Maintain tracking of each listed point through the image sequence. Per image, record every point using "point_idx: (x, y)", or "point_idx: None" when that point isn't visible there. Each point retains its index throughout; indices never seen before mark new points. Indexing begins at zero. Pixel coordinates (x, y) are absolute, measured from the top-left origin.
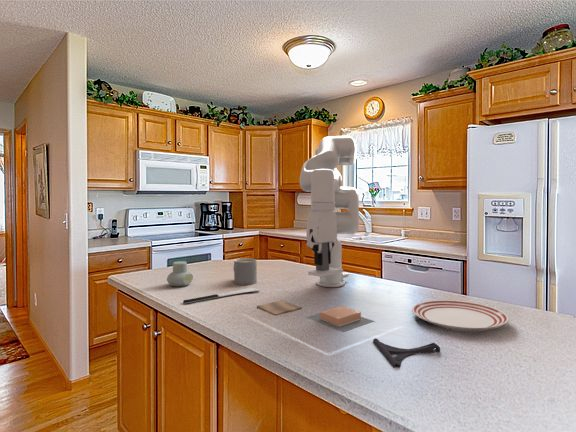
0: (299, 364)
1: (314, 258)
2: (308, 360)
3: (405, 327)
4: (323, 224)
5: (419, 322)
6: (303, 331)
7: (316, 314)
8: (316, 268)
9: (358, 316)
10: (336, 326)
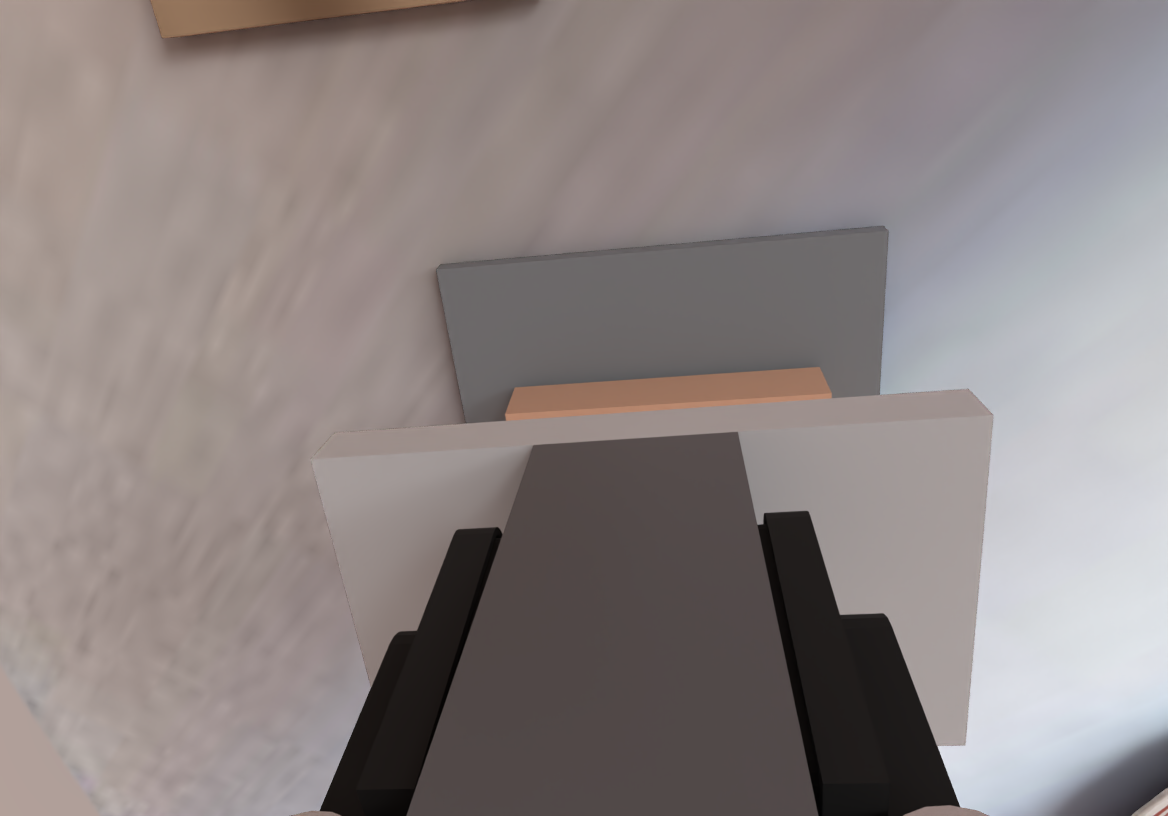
0: (86, 754)
1: (425, 616)
2: (143, 750)
3: (955, 771)
4: None
5: (1129, 773)
6: (283, 469)
7: (569, 263)
8: (531, 474)
9: None
10: None
